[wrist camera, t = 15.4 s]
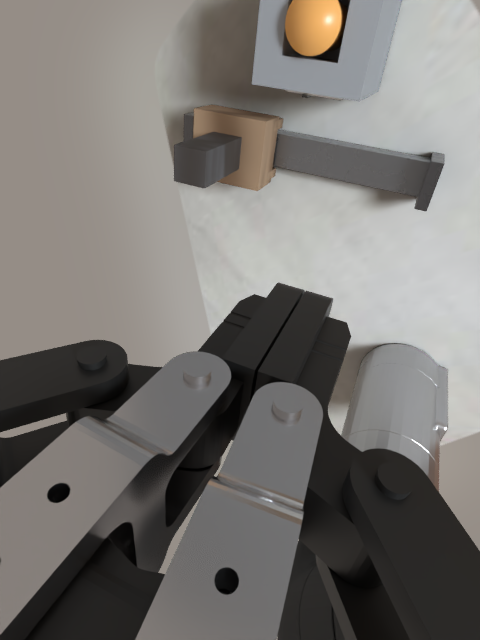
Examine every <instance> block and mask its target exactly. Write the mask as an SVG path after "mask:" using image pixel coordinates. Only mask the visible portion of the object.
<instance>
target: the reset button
mask: <svg viewBox="0 0 480 640" xmlns="http://www.w3.org/2000/svg"><path fill="white" fill-rule="evenodd" d="M347 15H348V9H347V7H346V6H345V5H344V4H342V3H340V2H339V1H338V0H293V1H292V2H291V4H290V6H289V8H288V11H287V14H286V19H285V31H286V36H287V39H288V41H289V43H290V45H291V46H292V48H293V49H294V50H295V51H296V52H298V53H299V54H302V55H305V56H316V55H320V54H322V53H324V52H326V51H333V50H335V49H337V48H339V47H340V46H341V44H342V39H343V34H344V30H345V25H346V20H347Z"/></svg>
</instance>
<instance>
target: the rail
mask: <svg viewBox="0 0 480 640" xmlns="http://www.w3.org/2000/svg"><path fill="white" fill-rule="evenodd" d="M193 128H194V112H192V113H188V114H184V141H187V140H190V139H193ZM273 166H276V167H281V168H285V169H290V170H295V171H299V172H304V173H309V174H313V175H318V176H323V177H327V178H332V179H337V180H341V181H346V182H351V183H355V184H360V185H365V186H369V187H374V188H379V189H383V190H388V191H393V192H397V193H402V194H407V195H411V196H416V197H417V199H416V204H415V208H414V209H418V210H422V211H427V208H428V206H429V203H430V200H431V198H432V195H433V192H434V190H435V187H436V184H437V182H438V179H439V176H440V174H441V171H442V168H443V166H444V154H440V153H435V152H433V153H432V156H431V158H428V157H423V156H417V155H412V154H407V153H401V152H396V151H391V150H385V149H380V148H375V147H369V146H364V145H359V144H353V143H348V142H343V141H338V140H332V139H327V138H322V137H316V136H311V135H306V134H300V133H295V132H290V131H284V130H279V129H278V131H277V138H276V145H275V152H274V160H273Z"/></svg>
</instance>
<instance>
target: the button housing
mask: <svg viewBox="0 0 480 640" xmlns="http://www.w3.org/2000/svg"><path fill="white" fill-rule="evenodd" d="M292 1H293V0H260V5H259V15H258V25H257V36H256V46H255V56H254V66H253V76H252V84H253V85H259V86H266V87H272V88H278V89H285V90H286V92H292V93H299V94H302V97H305V98H308V97H311V96H317V97H323V98H330V99H336V100H342V99H347V100H354V101H361V100H363V99H365V98H367V97H368V96H370V95H372V94H374V93H376V92H378V90H379V87H380V83H381V79H382V75H383V71H384V67H385V63H386V60H387V56H388V52H389V48H390V44H391V40H392V37H393V33H394V29H395V25H396V21H397V17H398V13H399V10H400V6H401V2H402V0H338V1H339V2H340V3H342V4H344V5H345V6H346V7H347V9H348V15H347V20H346V25H345V30H344V34H343V39H342V44H341V46H340V47H339V48H337V49H335V50H333V51H326V52H324V53H322V54H320V55H316V56H305V55H302V54H299V53H298V52H296V51H295V50H294V49H293V48H292V46H291V45H290V43H289V41H288V39H287V36H286V31H285V19H286V14H287V11H288V8H289V6H290V4H291V2H292Z"/></svg>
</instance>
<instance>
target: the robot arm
mask: <svg viewBox="0 0 480 640" xmlns="http://www.w3.org/2000/svg"><path fill="white" fill-rule="evenodd" d="M332 302H333V298H329V297H326V296H322V295H319V294H316V293H312V292H309V291H306V292H305V291H304V290H302V289H298V288H295V287H292V286H288V285H285V284H281V283H277V284H276V286H275V287H274V288H273V290H272V291H271V292H270V294H269V295H268V296H267V298H265V297H261V296H258V295H255V294H254V295H252V296H250V297H248V298H245V299H243V300H241V301H239V303H238V304H237V305H236V306H235V307H234V309H233V310H232V311H231V313H230V314H229V315H228V316H227V317H226V318H225V319H224V322H222V323H221V324H220V325H219V327H218V328H217V329H216V330H215V331H214V333H213V334H212V335H211V336H210V337H209V338H208V340H207V341H206V342H205V343H204V345H203V346H202V347H201V348H200V349H199V350H198V352H187V353H183V354H181V355H178V356H176V357H174V358H173V359H171V360H170V361H169V362H168V363H167V364H166V365H165V366H164V367H150V366H141V365H132V364H128V360H127V354H126V352H125V351H124V349H123V348H122V347H121V346H119V345H118V344H115V343H113V342H110V341H105V340H90V341H84V342H80V343H76V344H71V345H67V346H62V347H58V348H53V349H49V350H44V351H40V352H36V353H31V354H27V355H22V356H18V357H13V358H9V359H4V360H1V361H0V432H3V431H6V430H10V429H13V428H16V427H20V426H23V425H26V424H30V423H33V422H37V421H40V420H44V419H47V418H50V417H53V416H57V415H60V414H64V413H66V416H67V421H65V422H61V423H58V424H54V425H51V426H48V427H44V428H41V429H38V430H34V431H31V432H28V433H24V434H21V435H18V436H14V437H11V438H0V640H276V639H277V636H278V640H480V551H479V550H478V548H477V547H476V545H475V544H474V542H473V541H472V540H471V538H470V537H469V535H468V534H467V532H466V531H465V529H464V528H463V526H462V525H461V524H460V522H459V521H458V520H457V518H456V516H455V515H454V514H453V512H452V511H451V509H450V508H449V507H448V505H447V503H446V502H445V501H444V499H443V498H442V496H441V495H440V494H439V457H440V456H439V454H440V441H441V439H442V438H443V436H444V434H445V433H446V431H447V428H448V370H447V369H446V368H443V367H440V366H438V365H437V364H436V362H435V361H434V360H433V359H432V358H431V357H430V356H429V355H427V354H426V353H425V352H423V351H421V350H419V349H417V348H415V347H412V346H409V345H403V344H388V345H383V346H380V347H377V348H375V349H373V350H372V351H370V352H369V353H368V354H367V355H366V356H365V357H364V359H363V361H362V362H361V366H360V369H359V371H358V375H357V380H356V383H355V387H354V391H353V394H352V398H351V401H350V405H349V409H348V412H347V416H346V420H345V423H344V427H343V430H342V434H341V435H340V434H339V433H338V432H337V431H336V430H335V428H334V427H333V425H332V423H331V421H330V419H329V416H328V405H329V402H330V399H331V396H332V393H333V390H334V387H335V384H336V381H337V378H338V375H339V372H340V369H341V366H342V362H343V359H344V356H345V353H346V350H347V347H348V344H349V341H350V338H351V335H350V332H349V328H348V325H347V323H346V322H343V321H340V320H336V319H333V318H330V317H329V314H330V310H331V307H332ZM231 440H234V441H233V443H232V446H231V448H230V450H229V453H228V455H227V457H226V459H225V461H224V464H223V466H222V468H221V470H220V472H219V474H218V476H217V477H215V476H214V474H215V473H216V471H217V470H218V468H219V466H220V464H221V459H222V455H223V453H224V452H225V450H226V448H227V446H228V444H229V443H230V441H231ZM201 494H202V495H201ZM200 496H201V498H200V500H199V502H198V504H197V506H196V509H195V511H194V513H193V515H192V517H191V519H190V521H189V524H188V526H187V528H186V530H185V533H184V534H183V537H182V539H181V541H180V543H179V545H178V548H177V550H176V552H175V554H174V556H173V558H172V561H171V563H170V565H169V567H168V569H167V572H166V574H161V573H158V572H159V570H160V568H161V566H162V564H163V561H164V559H165V556H166V553H167V550H168V547H169V545H170V543H171V541H172V538H173V537H174V535H175V533H176V532H177V530H178V529H179V527H180V526H181V524H182V523H183V521H184V519H185V518H186V517H187V515H188V514H189V512H190V511H191V509H192V508H193V506H194V505H195V503H196V502H197V500H198V499H199V497H200ZM298 539H299V541H298ZM297 543H298V544H297Z"/></svg>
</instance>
